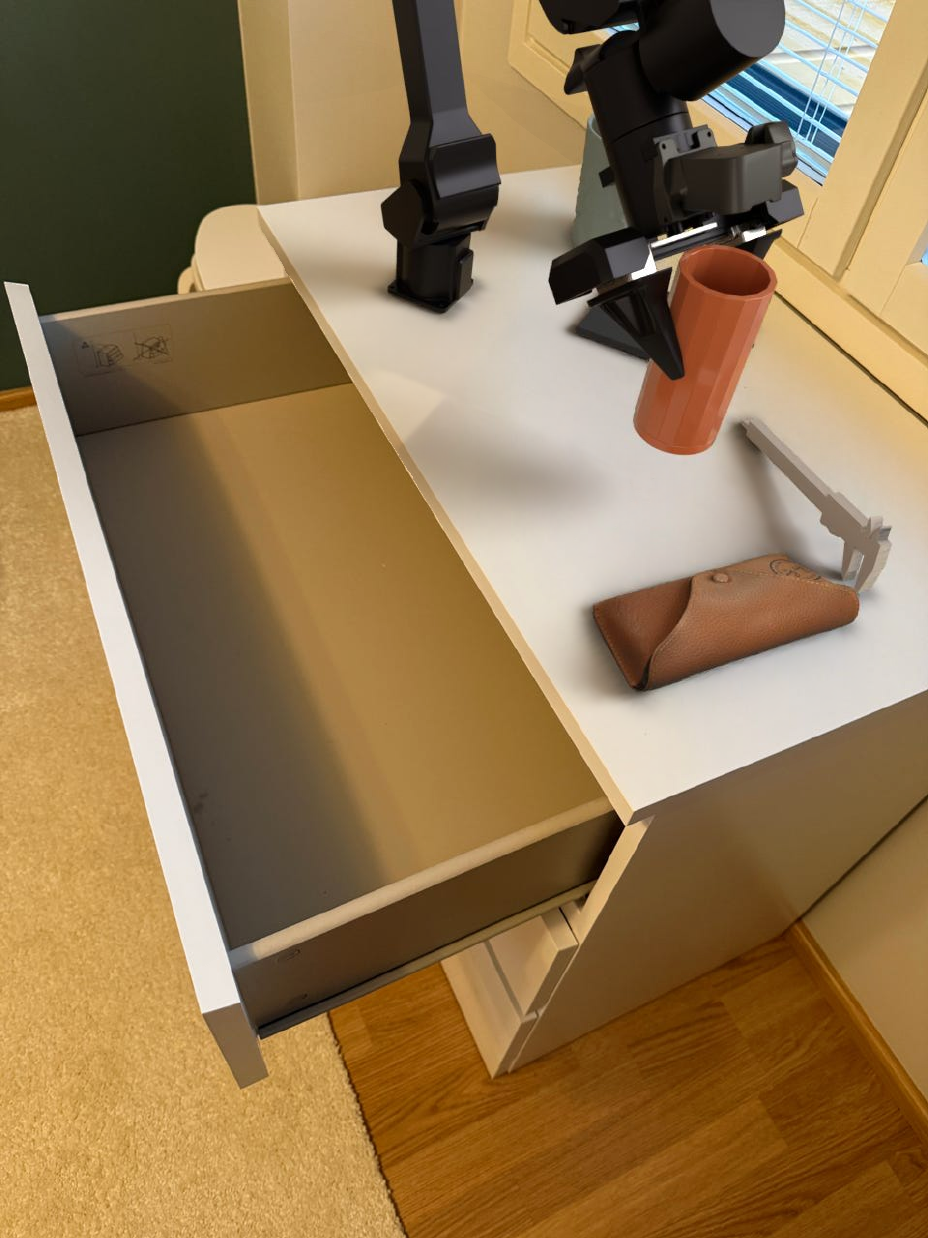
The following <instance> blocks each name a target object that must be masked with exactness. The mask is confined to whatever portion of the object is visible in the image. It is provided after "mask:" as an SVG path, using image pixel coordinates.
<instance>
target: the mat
mask: <svg viewBox="0 0 928 1238" xmlns="http://www.w3.org/2000/svg"><path fill="white" fill-rule="evenodd" d="M669 292H670V291H668V292H667V299H668V296H669ZM575 333H576V334H577V335H581V336H583V337H585V338H588V339H591V340H594V341H596V342H599V343H601V344H605V345H607V346H610V347H613V348H614V349H619V350H620V351H623V352H626V353H629V354H631V355H635V356H637V357H639V358H642V359H645V360H648V361H649V360H650V357H649V356H648V355H647V353H646V352H645V351H644V350H643V349H642V348H641V347H640V346H639V345H638V344H637V342H635V341H634V339H633V338H632V337H631V336H630V335H629V334H628V333H627V332H626V331H625V330H623V329H622V328H621V327H620V326H619V325H618V324H617V323H616V322H615V321H614V320H612V319H611V318H610V317H609V316H608V315H607V314H606V313H605V312H604V311H602V310H601V309H600V308H599V307H597V306H595V307H592V308H589V310H588V312H587V313H586V314H585V315H584V317H583V318H582V319H581V320H580V322H579V323H578V325H577V326H576V329H575Z"/></svg>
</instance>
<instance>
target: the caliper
mask: <svg viewBox="0 0 928 1238" xmlns="http://www.w3.org/2000/svg"><path fill="white" fill-rule="evenodd" d="M740 424H741V425H742V426H743V427H744V428H745V429H746V434H745V435H746V437H747V438H748V439H749V440H750V441H751V442H752V443H753V444H754V445H755V446H756V447H757V448H758V449H759V450H760V451H761V453H762V454H764V455H765V456H766V457H767V458H768V459H769V461H771V462H772V464H773V465H775V467H776V468H778V469H779V471H780V472H781V473H782V474H784V476H786V478H787V479H788V480H789V481H790V482H791V483H792V484H793V485H794V486H795V487H796V488H797V489H798V490H799V491H800V492H801V493H802V494H803V496H805V497H806V499H807V500H809V502H811V504H813V505H814V507H815V508H816V509H817V510H818V511H819V512H820V513H821V514H820V518H819V523H820V524H821V525H822V526H824V527H826V528H827V530H828V532H829V533H830V534H831V535H834V536H835V537H837V538H840V539H841V540H843V548H842V549H843V550H842V558H841V567H840V575H841V580H842V581H851V580H854V579H855V578H856V580H855V583H854V586H853V588H852V589H853V590H854V591H855V592H856V594H857V593H859V594H860V593H864V592H869V591H871V589H872V588H873V586H874V585H875V583H876V582H877V580H878V578H879V576H880V575H881V573H882V572H883V570H884V569H885V567H886V564H887V562H888V558H889V555H890V553H891V549H892V546H893V543H892V542H891V541H890V540H889V537H890V533H891V531H892V528H893V525H884V523H883V522H884V520H883V515H879V516H873V517H869V518H868V517H867V516H866V515H865V514H864V513H863V512H861V510H860V509H859V508H858V507H856V505H854V504H853V502H851V501H850V500H849V499H848V498H847V497H846V496H845V495H844V494H843V493H841V491H838V492H837V491H836V492H834V491H833V490H832V489H831V487H829V486H828V485H827V484H826V483H825V482H824V481H823V480H822V478H820V477H819V476H818V475H817V474H816V473H815V472H814V471H813V470H812V469H811V467H809V466H808V465H807V464H806V463H805V462H804V461H803V460H802V459H801V458H800V457H799V456H798V455H797V454H796V453H795V452H794V451H793V450H792V449H791V448H790V447H789V446H788V445H786V444H785V442H784V441H782V440H781V439H780V437H778V436H777V434H775V433H774V432H773V430H772V429H770V427H768V426H767V425H766V424H765V423H764V422H763V421H762V420H761V419H753V418H750V419H741V420H740ZM857 572H858V574H857ZM856 575H857V577H856Z"/></svg>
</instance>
